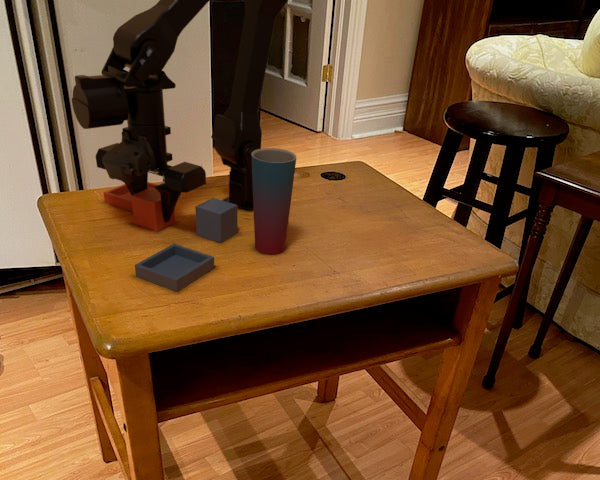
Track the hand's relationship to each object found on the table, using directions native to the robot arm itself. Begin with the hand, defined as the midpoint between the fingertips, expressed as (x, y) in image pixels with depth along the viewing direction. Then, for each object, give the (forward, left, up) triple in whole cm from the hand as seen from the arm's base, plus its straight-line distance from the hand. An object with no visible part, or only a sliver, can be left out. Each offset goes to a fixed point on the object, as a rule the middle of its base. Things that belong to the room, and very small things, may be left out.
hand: (154, 217), depth 101 cm
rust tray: (-6, -9, -1) cm, 11 cm away
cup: (-4, +21, -1) cm, 21 cm away
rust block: (0, 0, -1) cm, 1 cm away
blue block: (-3, +11, -1) cm, 11 cm away
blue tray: (+12, +14, -1) cm, 18 cm away
